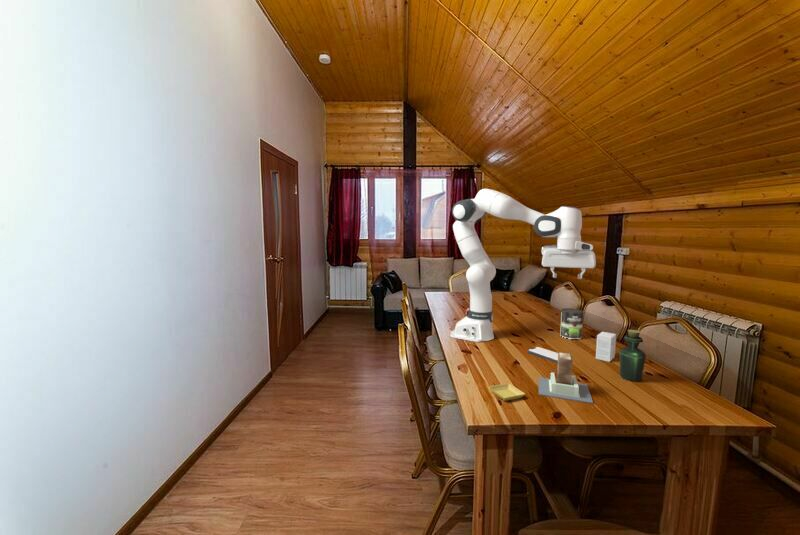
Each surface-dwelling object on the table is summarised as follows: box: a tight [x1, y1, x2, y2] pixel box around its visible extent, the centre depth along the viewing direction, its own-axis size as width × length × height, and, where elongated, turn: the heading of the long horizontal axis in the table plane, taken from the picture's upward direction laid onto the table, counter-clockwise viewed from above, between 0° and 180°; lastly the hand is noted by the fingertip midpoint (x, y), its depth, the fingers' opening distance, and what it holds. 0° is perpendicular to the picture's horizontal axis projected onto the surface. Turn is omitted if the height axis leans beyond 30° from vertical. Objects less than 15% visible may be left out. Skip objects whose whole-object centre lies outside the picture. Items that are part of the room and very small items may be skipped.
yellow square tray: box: [488, 382, 526, 402], centre depth 112 cm, size 9×9×2 cm
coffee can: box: [559, 307, 584, 340], centre depth 175 cm, size 10×10×14 cm
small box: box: [595, 331, 617, 362], centre depth 145 cm, size 8×6×10 cm
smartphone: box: [527, 346, 559, 364], centre depth 148 cm, size 9×2×16 cm
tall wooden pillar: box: [556, 352, 573, 385], centre depth 115 cm, size 4×6×11 cm, turn 158°
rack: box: [549, 371, 580, 398], centre depth 116 cm, size 9×10×3 cm
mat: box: [537, 376, 594, 404], centre depth 116 cm, size 16×14×1 cm
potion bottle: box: [618, 329, 647, 382], centre depth 125 cm, size 8×8×18 cm
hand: (567, 278), depth 141 cm, fingers open, 8 cm apart
